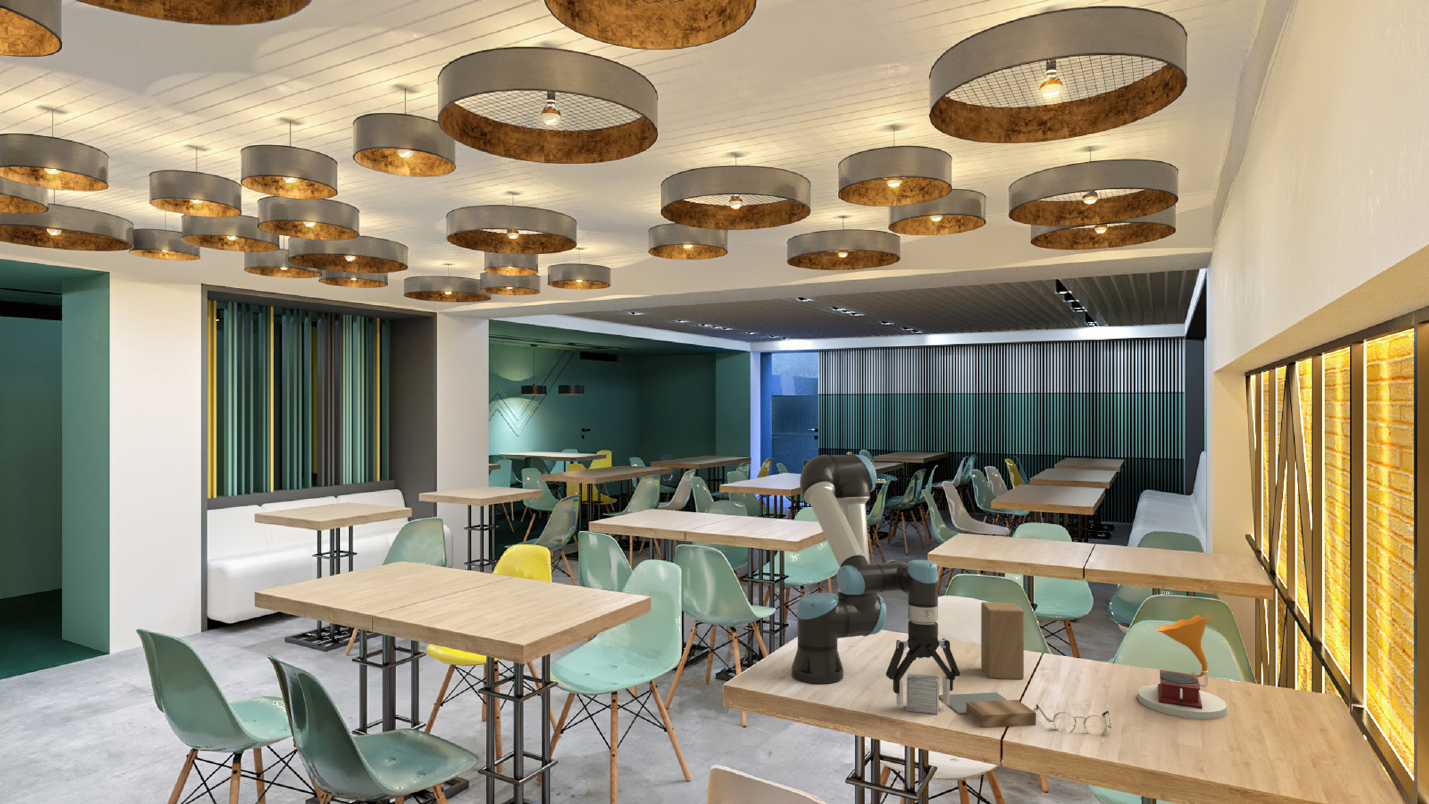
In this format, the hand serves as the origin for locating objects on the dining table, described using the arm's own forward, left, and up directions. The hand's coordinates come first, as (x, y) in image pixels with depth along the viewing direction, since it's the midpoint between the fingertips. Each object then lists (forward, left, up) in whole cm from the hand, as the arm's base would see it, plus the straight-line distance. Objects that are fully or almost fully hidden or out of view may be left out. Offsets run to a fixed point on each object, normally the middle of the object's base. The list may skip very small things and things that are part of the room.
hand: (923, 704), depth 209 cm
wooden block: (+35, +25, -2) cm, 43 cm away
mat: (+16, +3, -1) cm, 17 cm away
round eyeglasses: (+35, -12, -2) cm, 37 cm away
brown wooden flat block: (+17, -8, -1) cm, 19 cm away
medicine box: (0, 0, -2) cm, 2 cm away
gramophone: (+70, -5, -2) cm, 70 cm away
